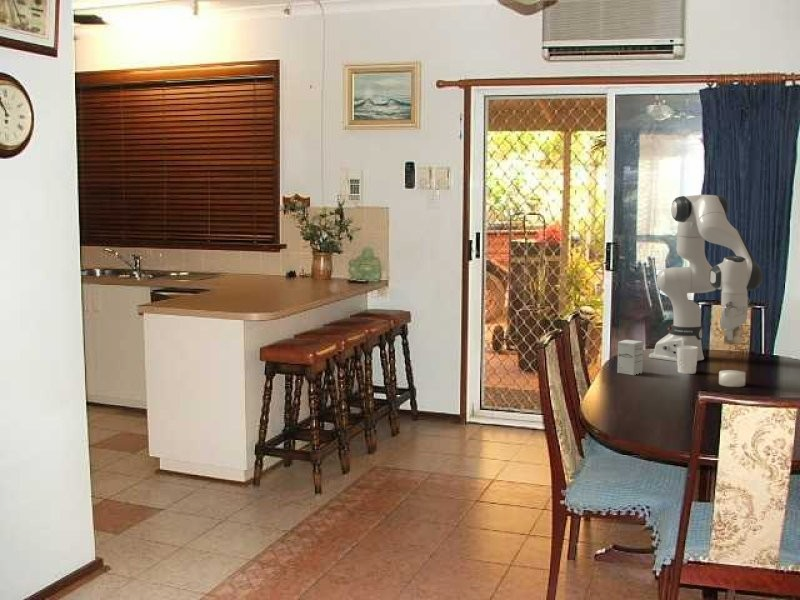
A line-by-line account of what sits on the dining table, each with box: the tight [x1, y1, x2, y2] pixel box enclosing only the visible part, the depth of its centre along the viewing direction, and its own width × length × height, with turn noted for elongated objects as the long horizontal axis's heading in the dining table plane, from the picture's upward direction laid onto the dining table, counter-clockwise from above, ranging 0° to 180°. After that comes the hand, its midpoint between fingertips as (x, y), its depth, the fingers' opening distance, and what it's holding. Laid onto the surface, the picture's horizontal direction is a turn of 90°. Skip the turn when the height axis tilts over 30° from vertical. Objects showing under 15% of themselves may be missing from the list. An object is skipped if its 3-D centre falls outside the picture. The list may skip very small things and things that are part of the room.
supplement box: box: [617, 339, 644, 376], centre depth 344 cm, size 7×7×13 cm
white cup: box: [676, 346, 698, 375], centre depth 343 cm, size 8×8×10 cm
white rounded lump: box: [718, 369, 746, 388], centre depth 321 cm, size 9×9×4 cm
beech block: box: [723, 328, 743, 346], centre depth 319 cm, size 5×5×5 cm
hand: (733, 338), depth 319 cm, fingers closed on beech block, 5 cm apart
